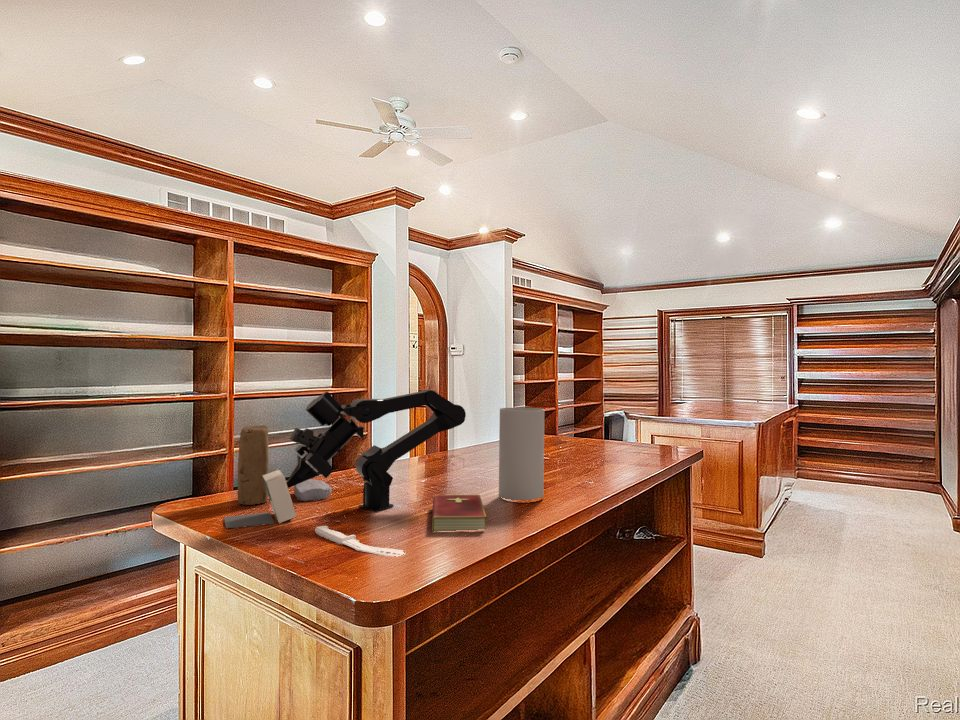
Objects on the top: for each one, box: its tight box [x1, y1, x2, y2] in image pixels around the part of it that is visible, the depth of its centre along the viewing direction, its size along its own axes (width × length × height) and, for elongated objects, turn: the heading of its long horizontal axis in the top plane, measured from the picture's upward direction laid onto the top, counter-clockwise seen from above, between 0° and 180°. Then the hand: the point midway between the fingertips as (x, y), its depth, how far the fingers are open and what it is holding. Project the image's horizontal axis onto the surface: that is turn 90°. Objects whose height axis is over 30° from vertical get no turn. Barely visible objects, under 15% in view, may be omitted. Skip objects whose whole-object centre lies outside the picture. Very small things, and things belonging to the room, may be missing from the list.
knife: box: [314, 525, 407, 558], centre depth 110 cm, size 30×2×8 cm
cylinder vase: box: [498, 407, 545, 500], centre depth 153 cm, size 12×12×25 cm
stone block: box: [293, 478, 333, 502], centre depth 152 cm, size 12×5×10 cm
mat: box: [223, 512, 275, 530], centre depth 126 cm, size 10×10×1 cm
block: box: [237, 425, 270, 506], centre depth 145 cm, size 11×8×20 cm
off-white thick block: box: [262, 469, 297, 524], centre depth 130 cm, size 4×9×10 cm, turn 27°
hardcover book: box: [431, 494, 487, 533], centre depth 130 cm, size 12×21×4 cm, turn 4°
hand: (286, 486), depth 130 cm, fingers closed
